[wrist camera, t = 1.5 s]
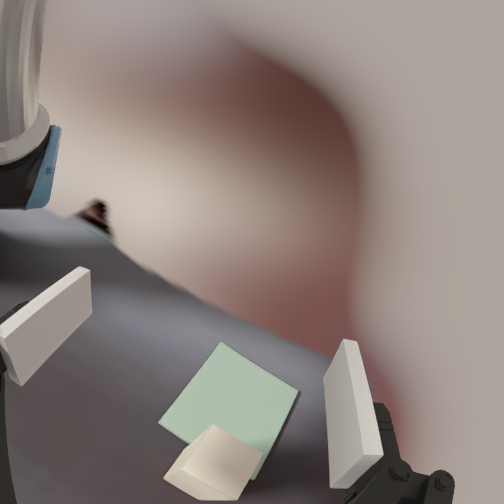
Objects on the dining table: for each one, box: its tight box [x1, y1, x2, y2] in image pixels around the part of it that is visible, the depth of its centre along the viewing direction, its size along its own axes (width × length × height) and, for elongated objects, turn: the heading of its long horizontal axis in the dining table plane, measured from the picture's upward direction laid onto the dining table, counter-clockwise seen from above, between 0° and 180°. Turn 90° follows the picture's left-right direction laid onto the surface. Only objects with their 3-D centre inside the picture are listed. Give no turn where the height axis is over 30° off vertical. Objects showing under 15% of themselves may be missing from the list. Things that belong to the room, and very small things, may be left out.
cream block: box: [163, 424, 263, 500], centre depth 24 cm, size 5×5×14 cm
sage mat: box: [158, 342, 298, 480], centre depth 37 cm, size 14×16×1 cm
